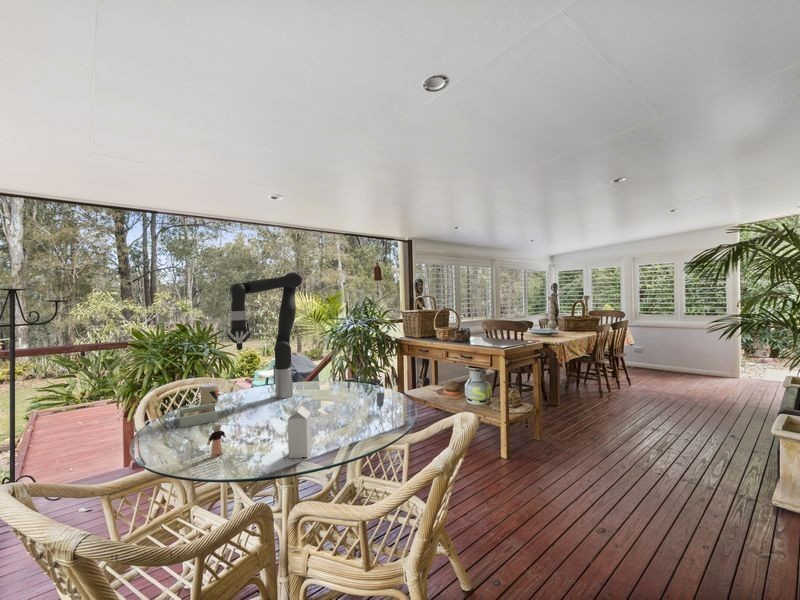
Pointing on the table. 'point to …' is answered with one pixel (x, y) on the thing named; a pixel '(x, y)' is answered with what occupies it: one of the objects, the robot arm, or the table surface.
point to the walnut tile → (205, 411)
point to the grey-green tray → (196, 416)
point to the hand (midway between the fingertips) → (239, 349)
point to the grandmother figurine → (216, 440)
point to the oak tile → (191, 413)
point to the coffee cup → (209, 393)
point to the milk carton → (299, 432)
